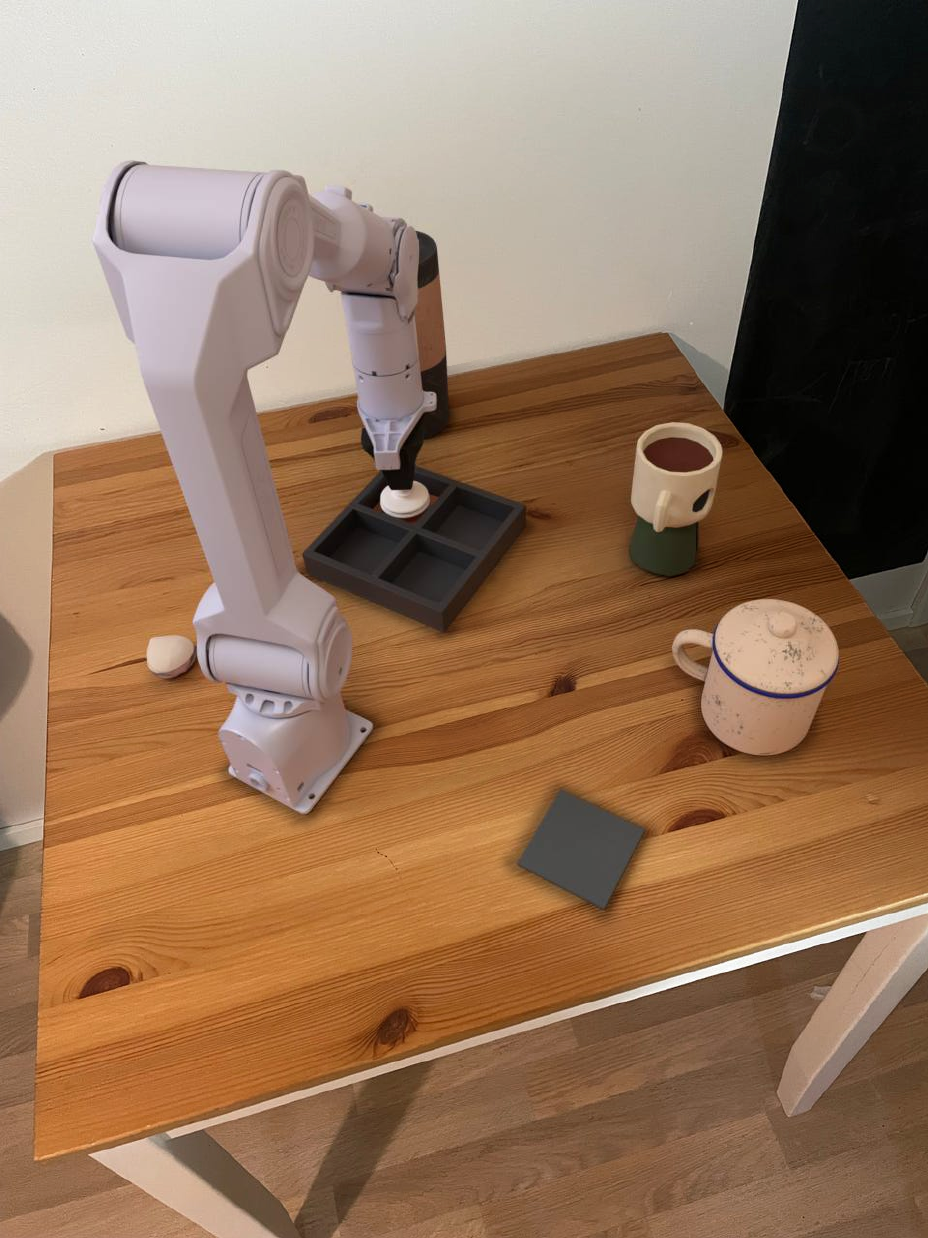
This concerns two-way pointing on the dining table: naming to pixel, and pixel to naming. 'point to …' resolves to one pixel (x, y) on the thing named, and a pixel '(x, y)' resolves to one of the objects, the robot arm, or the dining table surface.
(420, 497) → the chess piece
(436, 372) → the travel mug
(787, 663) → the teacup with lid
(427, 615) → the tray
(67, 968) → the dining table surface
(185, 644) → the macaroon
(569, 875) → the coaster
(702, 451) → the character mug
